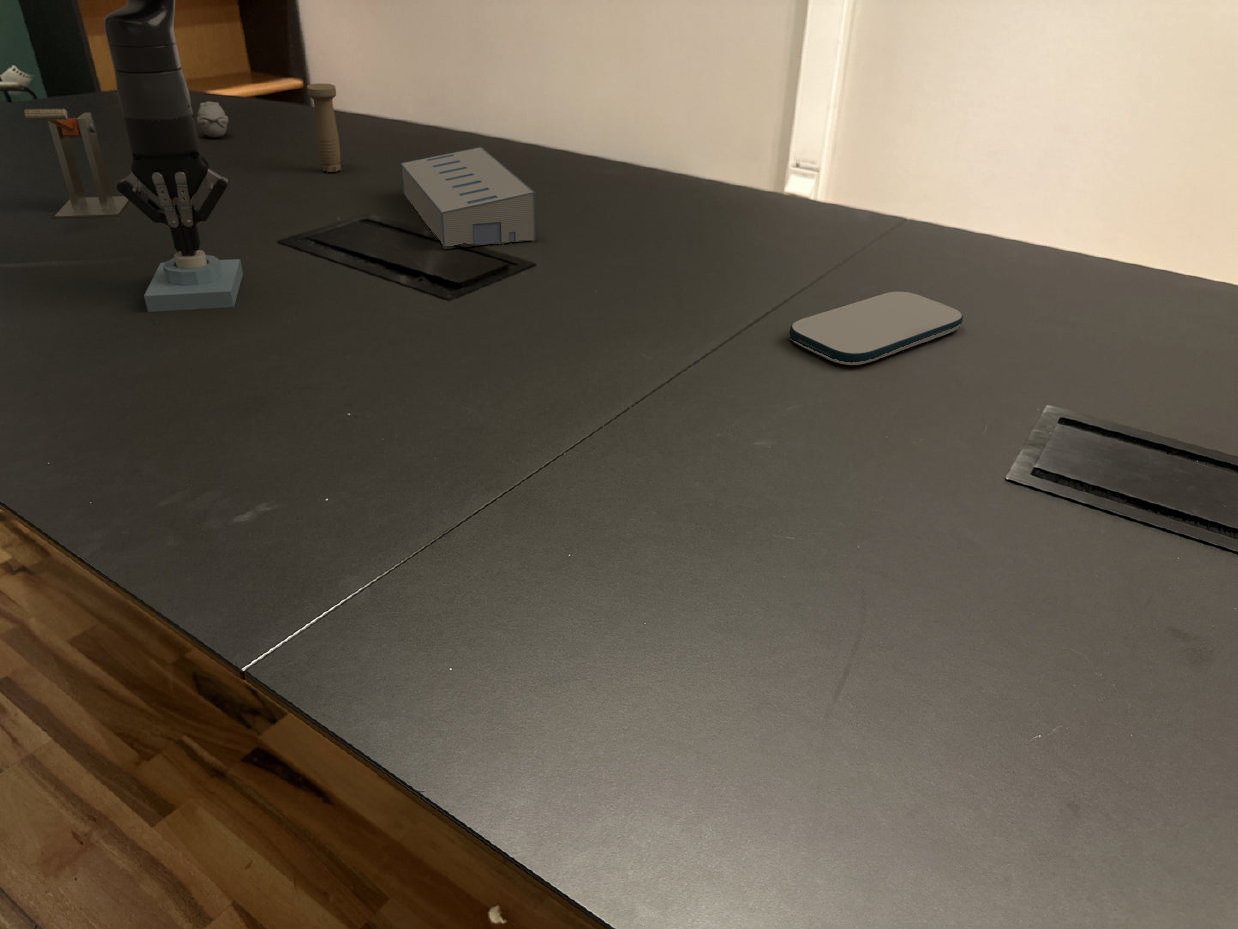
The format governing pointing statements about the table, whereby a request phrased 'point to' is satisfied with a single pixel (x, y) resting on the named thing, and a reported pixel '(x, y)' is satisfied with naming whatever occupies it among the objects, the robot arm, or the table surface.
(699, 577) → the table surface
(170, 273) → the button box
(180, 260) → the button
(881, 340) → the external hard drive
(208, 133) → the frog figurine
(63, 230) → the table surface
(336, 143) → the handle
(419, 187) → the warehouse
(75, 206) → the bracket
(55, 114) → the lever
